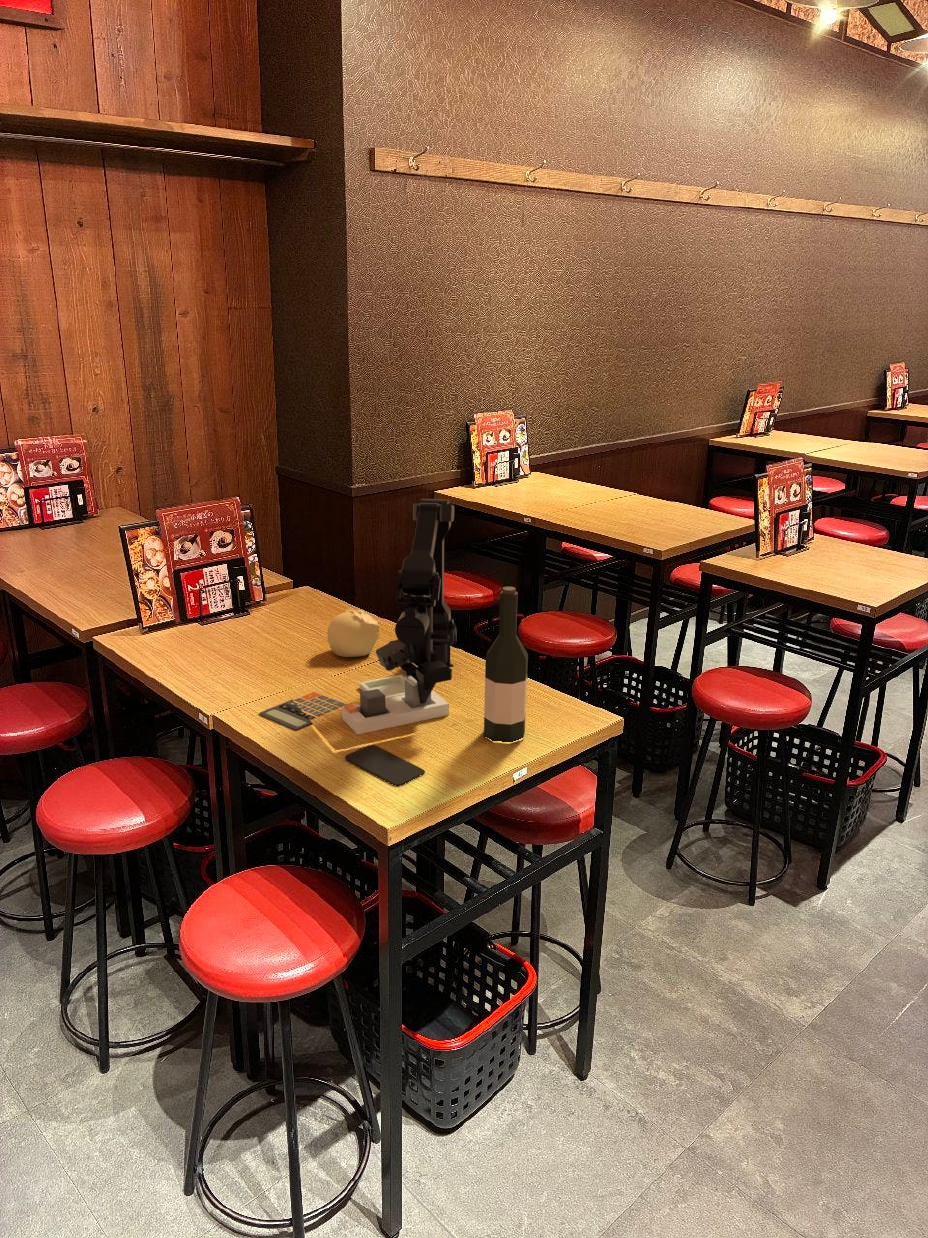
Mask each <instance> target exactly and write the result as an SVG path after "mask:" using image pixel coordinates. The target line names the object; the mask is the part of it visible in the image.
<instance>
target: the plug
mask: <svg viewBox="0 0 928 1238" xmlns="http://www.w3.org/2000/svg"><path fill="white" fill-rule="evenodd" d="M404 677H405V703H406V704H407V705H408V706H410V707H411V708H416V707H421V706H426V705H431V693H430V695H429V697H428V699H427V701H426V703H423V704H421V703H420V699H419V693H418V686H417V681H416V680H415V679H414V678H413V677H412V676H411V675H409V676H405V675H404Z"/></svg>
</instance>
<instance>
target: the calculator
mask: <svg viewBox="0 0 928 1238" xmlns="http://www.w3.org/2000/svg"><path fill="white" fill-rule="evenodd" d="M344 704H345V703H343V702H341V701H340V700H339V701H338V700H336V699H333V698H330V697H328V696H325V695H323V694H320V693H318V692H315V691H312V692H311V693H308V694H305V695H303V696H301V698H300V697H298V698H296V699H294V700H293V699H289V700H288V701H284V702H282V703H280V704H277V705H274V706H272V707H270V708H268V709H265V710H262V711H260V712H258V715H259V716H260V715H262V716H261V717H263V718H265V717H266V718H265V719H267V718H268V719H267V720H269V721H272V722H274V723H276V724H279V725H282V726H283V727H286V728H288V729H291V730H293V731H295V732H297V731H301V730H303V729H305V728H308V727H309V726H312V725H314V724H313V722H312V721H311V720H314V719H317V717H322V716H323V715H325V714H327V713H330V712H332V711H336V710H338V709H339V708H342V707H344Z"/></svg>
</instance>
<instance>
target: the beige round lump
mask: <svg viewBox="0 0 928 1238" xmlns="http://www.w3.org/2000/svg"><path fill="white" fill-rule="evenodd" d="M326 636H327V642H328V644H329V647H330V649H331V650H332V652H333V653H334V654H335V655H337V656H338V657H344V658H348V657H349V658H355V657H356V658H357V657H364V656H365V657H366V656H367V655H369V654H370V653H371V652H372V651H373V649H374V647H375V645H376V643H377V641H378V640H379V637H380V624H379V622H378V621H377V620H376V619H374V618H373V617H372V615H370V614H368V613H367V612H365V610H364V609H345V610H344V612H342V613H340V614H337V616H335V617H334V618H333V619H332V620H331V621H330V623H329V625H328V628H327V635H326Z"/></svg>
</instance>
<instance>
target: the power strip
mask: <svg viewBox="0 0 928 1238" xmlns="http://www.w3.org/2000/svg"><path fill="white" fill-rule="evenodd" d="M359 701H360V703H356V704H353V702H349V703H344V706H342V707H341V713H342V714H341V715H342V717H341V718H342V720H343V721H344V722H345V723H346V724H347V726H349V728H350V729H352V731H353V732H354V733H355V734H356V735H357V736H358V735H362V734H367V733H372V732H377V731H382V730H387V729H391V728H395V727H399V726H404V725H408V724H409V725H410V724H413V723H414V724H415V723H419V722H423V721H428V720H431V719H436V718H442V717H446V716H450V702H448V701H447V700H445V699H444V698H443V697H442V696H441V695H439V694H438V693H436V692H435V691H434V690H432V692H431V705H426V706H421V707H416V708H411V707H410V706H408V705H407V704H406V703H405V695H401V696H396V697H391V698H386V699H385V695H384V694H383V693H382V692H381V691H380V690H378V689H374V690H369V691H360V692H359Z"/></svg>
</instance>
